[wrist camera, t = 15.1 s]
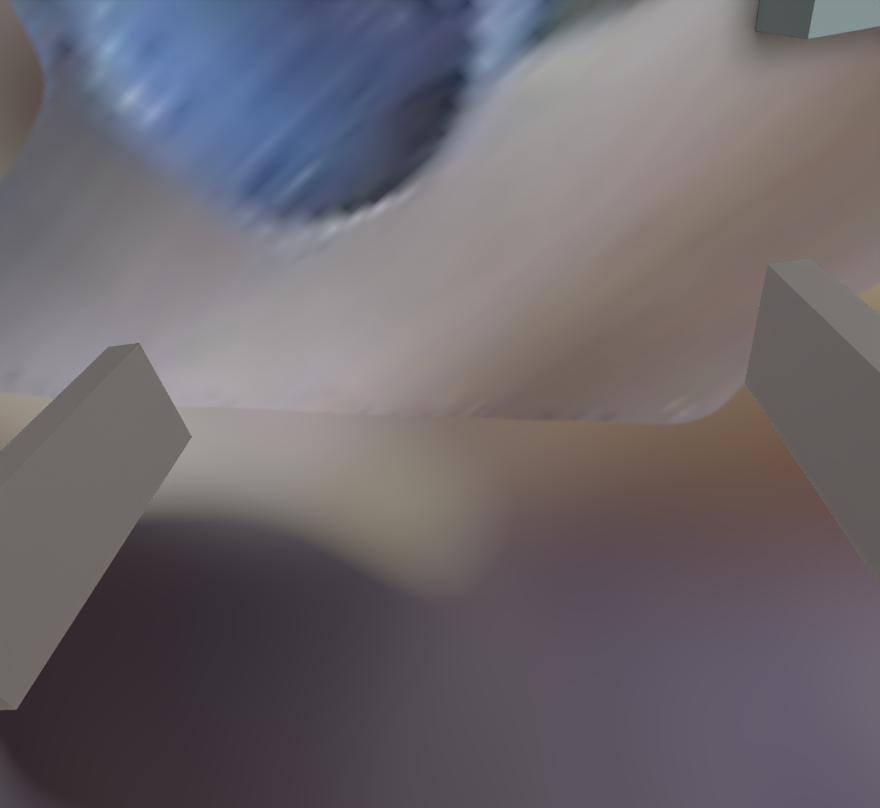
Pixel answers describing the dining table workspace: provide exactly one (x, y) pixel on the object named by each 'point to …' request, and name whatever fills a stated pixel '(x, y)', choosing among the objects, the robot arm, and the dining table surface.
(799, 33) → the teal angle bracket
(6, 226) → the dining table surface
